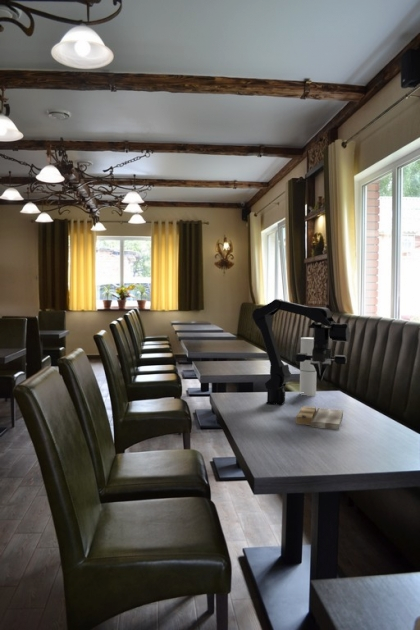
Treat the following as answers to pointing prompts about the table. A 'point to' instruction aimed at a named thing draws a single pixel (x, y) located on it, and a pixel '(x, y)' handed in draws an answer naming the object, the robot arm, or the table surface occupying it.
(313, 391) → the cylindrical container
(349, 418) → the table surface
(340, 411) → the floor board
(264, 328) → the robot arm
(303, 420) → the plank
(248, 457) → the table surface
